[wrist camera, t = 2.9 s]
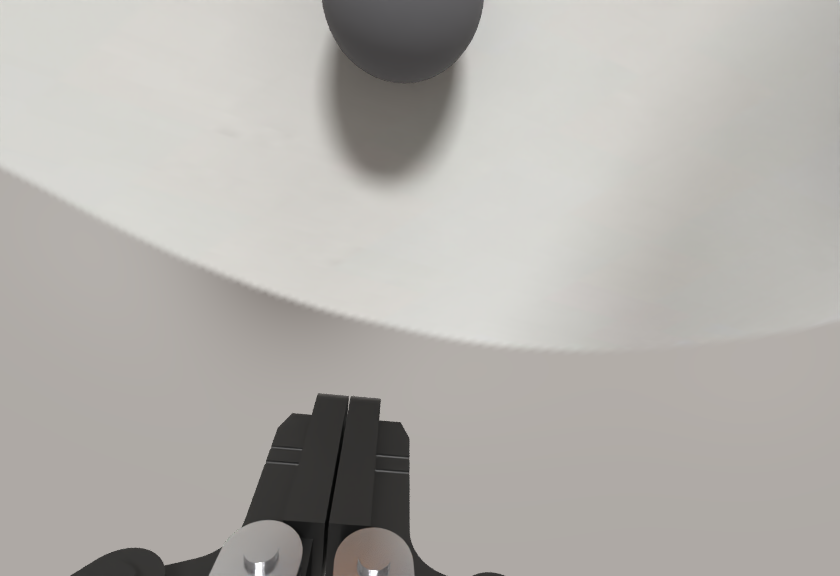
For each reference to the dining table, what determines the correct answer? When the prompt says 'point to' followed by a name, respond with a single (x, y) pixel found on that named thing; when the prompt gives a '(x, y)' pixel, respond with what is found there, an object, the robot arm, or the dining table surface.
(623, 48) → the dining table surface
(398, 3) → the gray ball
